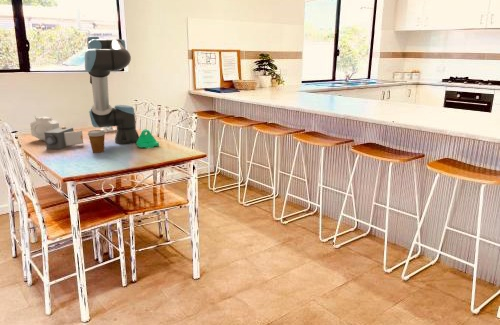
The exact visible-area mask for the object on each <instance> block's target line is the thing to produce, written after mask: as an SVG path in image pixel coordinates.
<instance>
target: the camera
mask: <svg viewBox="0 0 500 325" xmlns="http://www.w3.org/2000/svg"><path fill="white" fill-rule="evenodd" d="M34 119H35V120H34V121H32V122H31V123H30V133H31V136H32V137H34V138H36V139H38V140H39V141H44V142H45V134H44V132H47V131H50V130H53V129H56V128H59V127H60V123H59V122H58V121H57V120H54V119H53V118H52V117H48V116H46V115H45V116H39V117H36V116H35V115H34Z"/></svg>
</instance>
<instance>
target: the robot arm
mask: <svg viewBox="0 0 500 325" xmlns="http://www.w3.org/2000/svg"><path fill="white" fill-rule="evenodd" d="M86 43H87V49H86V50H85V52H84V70H85V72H87V73H88V75H89V77H90V78H89V84H91V88H92V98H93V104H92V106H91V108H89V111H88V113H89V117H90V121H91V125H92V126H93V128H99V129H100V128H101V129H102V127H111V126H112V127H116V133H115V137H114V142H115V144H118V145H119V144H120V145H121V144H122V145H130V144H135V143H136V142H137V140H138V138H139V137H140V135H139V133H138V131H137V129H136V128H137V126H136V116H135V115H136V114H135V108H134V107H133V106H131V105H125V104H116V105H114V107H112V106H111V104H110V100H109V83H108V82H109V81H108V80H109V79H108V78H109V76H110V74H111V71H114V72H115V71H120V70H123V69H126V67H128V66H129V65H130V63H131V60H132V57H131V54H130V52H129V50H127V49H126V41H125V39H119V38H116V39H105V38H103V39H100V37H99V36H95V35H93V36H90V35H89V36H87V37H86Z"/></svg>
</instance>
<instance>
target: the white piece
mask: <svg viewBox="0 0 500 325" xmlns="http://www.w3.org/2000/svg"><path fill="white" fill-rule="evenodd" d="M99 130H104V132H105V133H108V132H115V131H117V128H114V127H113V126H111V127H101V129H100V128H99Z"/></svg>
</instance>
